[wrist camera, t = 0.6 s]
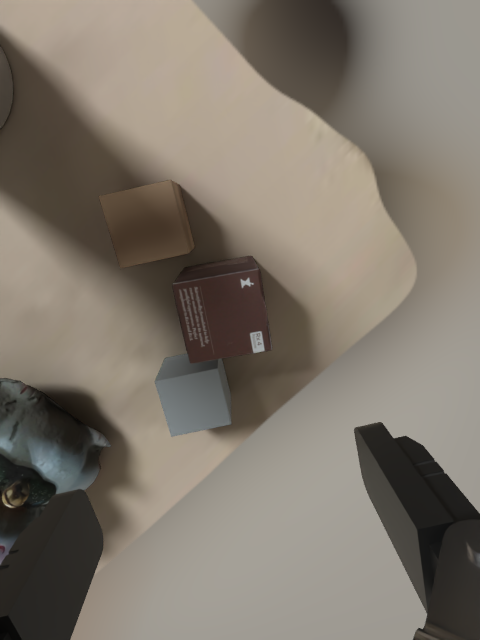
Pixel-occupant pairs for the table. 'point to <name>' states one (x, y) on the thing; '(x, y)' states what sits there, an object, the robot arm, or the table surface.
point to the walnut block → (147, 223)
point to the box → (222, 309)
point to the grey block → (193, 394)
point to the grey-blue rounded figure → (39, 456)
